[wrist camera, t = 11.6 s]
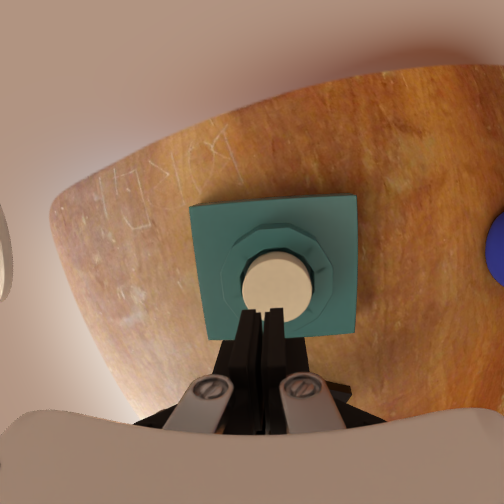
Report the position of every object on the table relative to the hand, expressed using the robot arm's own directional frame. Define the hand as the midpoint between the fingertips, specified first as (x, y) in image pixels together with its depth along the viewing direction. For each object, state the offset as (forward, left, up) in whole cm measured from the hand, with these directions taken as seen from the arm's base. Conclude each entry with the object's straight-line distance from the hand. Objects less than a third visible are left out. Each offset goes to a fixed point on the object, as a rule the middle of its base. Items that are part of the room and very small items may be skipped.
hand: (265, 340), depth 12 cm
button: (0, 0, -7) cm, 7 cm away
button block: (0, 0, -11) cm, 11 cm away
